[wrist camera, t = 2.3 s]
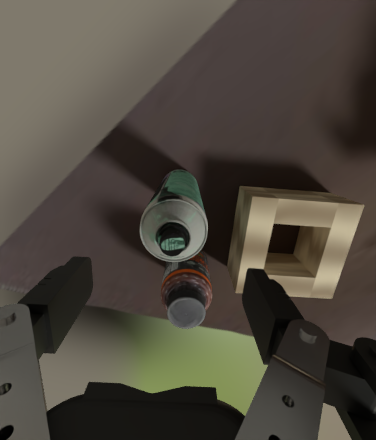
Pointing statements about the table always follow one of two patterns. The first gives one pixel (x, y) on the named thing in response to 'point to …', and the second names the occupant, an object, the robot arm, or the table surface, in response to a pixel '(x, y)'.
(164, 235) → the spray can
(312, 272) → the tube block
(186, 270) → the supplement bottle
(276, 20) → the table surface
